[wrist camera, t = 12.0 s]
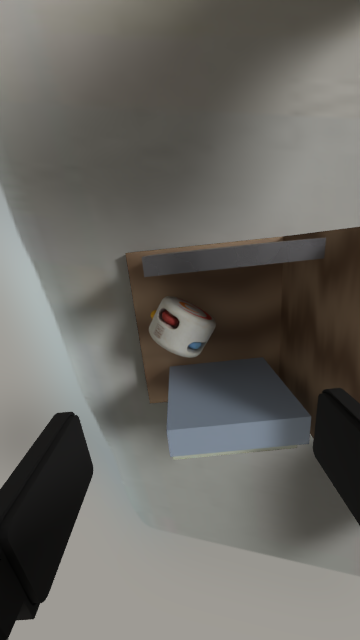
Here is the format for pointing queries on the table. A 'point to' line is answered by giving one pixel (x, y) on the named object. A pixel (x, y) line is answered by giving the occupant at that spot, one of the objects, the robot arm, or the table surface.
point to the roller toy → (181, 327)
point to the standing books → (232, 410)
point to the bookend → (233, 256)
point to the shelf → (266, 316)
